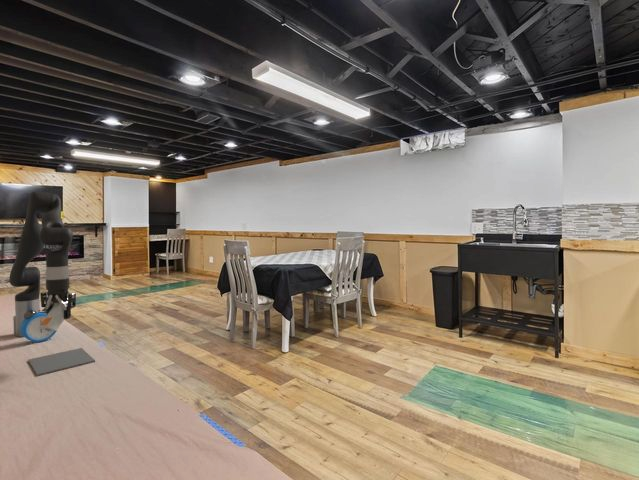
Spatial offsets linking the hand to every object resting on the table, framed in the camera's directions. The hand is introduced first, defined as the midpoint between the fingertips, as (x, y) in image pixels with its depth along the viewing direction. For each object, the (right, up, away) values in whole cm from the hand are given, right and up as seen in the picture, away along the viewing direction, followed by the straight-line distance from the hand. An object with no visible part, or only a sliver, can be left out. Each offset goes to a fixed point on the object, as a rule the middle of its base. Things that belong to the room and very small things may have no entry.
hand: (58, 318), depth 139 cm
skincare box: (-1, -3, -5) cm, 6 cm away
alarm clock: (-26, -16, +23) cm, 38 cm away
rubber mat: (+2, -17, -1) cm, 17 cm away
